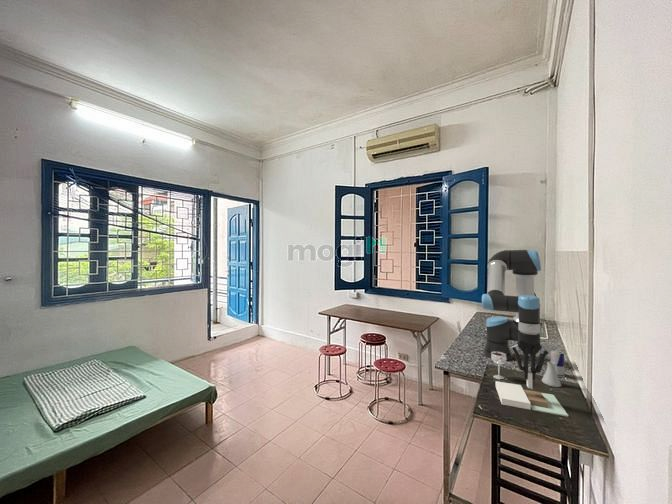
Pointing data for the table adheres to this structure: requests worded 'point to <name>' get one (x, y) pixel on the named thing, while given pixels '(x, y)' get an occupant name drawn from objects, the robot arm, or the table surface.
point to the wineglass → (498, 361)
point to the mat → (551, 406)
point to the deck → (512, 395)
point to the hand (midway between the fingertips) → (529, 386)
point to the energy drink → (558, 362)
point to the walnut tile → (536, 398)
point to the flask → (551, 376)
